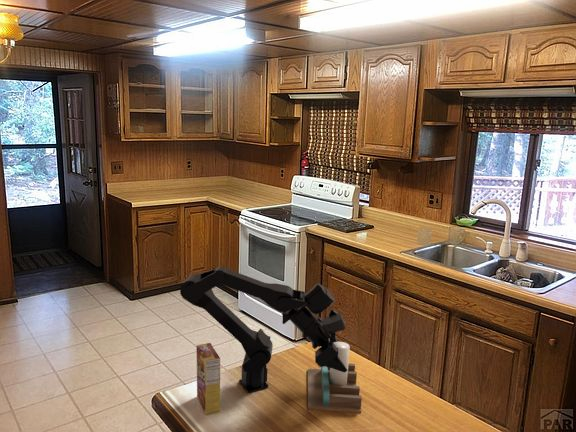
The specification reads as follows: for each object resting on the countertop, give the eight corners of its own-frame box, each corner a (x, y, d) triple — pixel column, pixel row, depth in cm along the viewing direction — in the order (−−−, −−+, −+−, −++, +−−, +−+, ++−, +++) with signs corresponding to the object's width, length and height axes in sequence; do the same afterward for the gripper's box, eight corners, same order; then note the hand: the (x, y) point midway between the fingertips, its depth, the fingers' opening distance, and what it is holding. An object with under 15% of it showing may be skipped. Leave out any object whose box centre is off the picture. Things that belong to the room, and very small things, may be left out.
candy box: (195, 396, 126) (195, 344, 123) (210, 393, 128) (211, 341, 125) (203, 415, 118) (204, 360, 115) (220, 412, 120) (221, 357, 117)
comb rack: (361, 412, 123) (362, 396, 122) (307, 409, 123) (308, 393, 122) (353, 373, 142) (354, 359, 141) (307, 370, 143) (308, 356, 142)
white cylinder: (335, 395, 129) (338, 351, 127) (325, 386, 133) (328, 343, 131) (350, 390, 132) (353, 347, 129) (339, 382, 136) (342, 340, 133)
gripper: (331, 319, 119) (371, 361, 121) (328, 293, 137) (362, 330, 139) (298, 345, 121) (338, 387, 122) (299, 316, 139) (334, 353, 141)
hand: (344, 362), depth 131 cm, fingers open, 9 cm apart
